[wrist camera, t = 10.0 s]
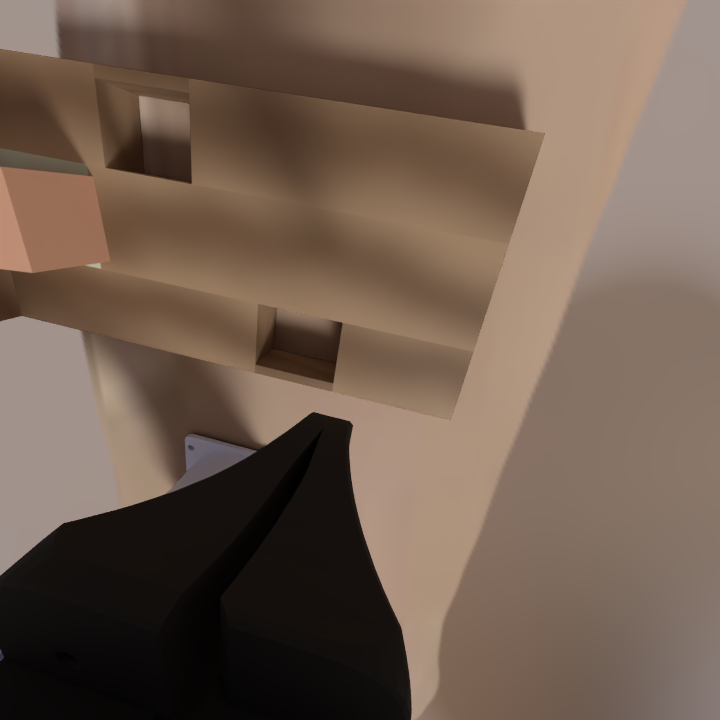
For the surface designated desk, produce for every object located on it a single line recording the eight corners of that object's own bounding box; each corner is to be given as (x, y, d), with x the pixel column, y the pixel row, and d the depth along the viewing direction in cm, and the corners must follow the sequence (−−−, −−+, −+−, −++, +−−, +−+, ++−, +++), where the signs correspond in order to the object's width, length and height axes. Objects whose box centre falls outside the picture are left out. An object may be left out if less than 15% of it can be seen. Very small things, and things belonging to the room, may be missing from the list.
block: (110, 261, 19) (32, 273, 15) (46, 253, 19) (-45, 263, 15) (92, 176, 17) (1, 166, 13) (23, 171, 18) (-83, 160, 14)
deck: (448, 397, 21) (454, 456, 16) (51, 303, 23) (-52, 327, 18) (528, 145, 15) (575, 112, 10) (1, 61, 18) (-163, 3, 13)
